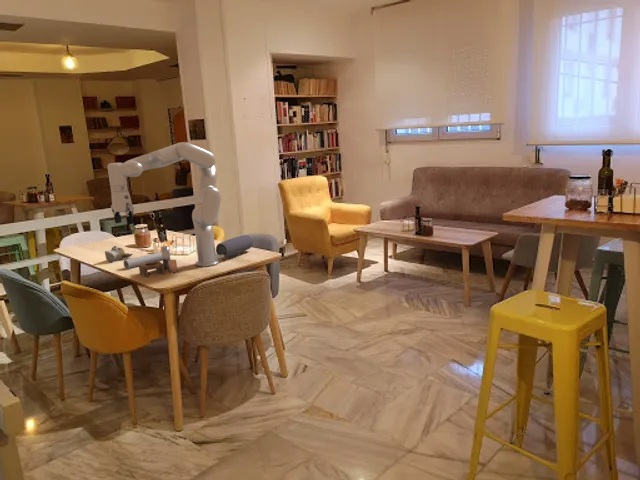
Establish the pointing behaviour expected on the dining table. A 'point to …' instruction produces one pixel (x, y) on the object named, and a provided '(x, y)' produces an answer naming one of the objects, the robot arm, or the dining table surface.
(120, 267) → the dining table surface
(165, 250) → the steel pin long
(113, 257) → the ceramic sculpture
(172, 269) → the clay pin short
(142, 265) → the walnut bridge
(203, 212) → the robot arm
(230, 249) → the bluetooth speaker
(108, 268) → the dining table surface
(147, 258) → the tube
